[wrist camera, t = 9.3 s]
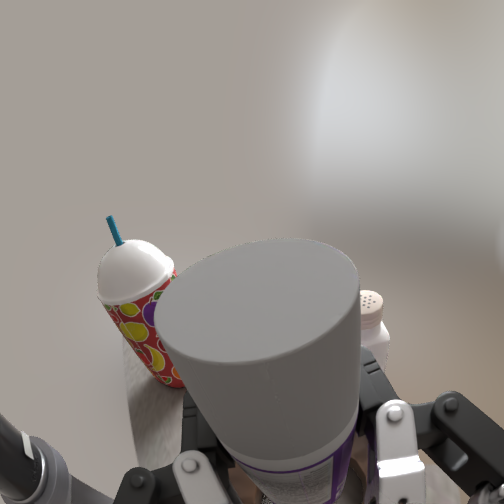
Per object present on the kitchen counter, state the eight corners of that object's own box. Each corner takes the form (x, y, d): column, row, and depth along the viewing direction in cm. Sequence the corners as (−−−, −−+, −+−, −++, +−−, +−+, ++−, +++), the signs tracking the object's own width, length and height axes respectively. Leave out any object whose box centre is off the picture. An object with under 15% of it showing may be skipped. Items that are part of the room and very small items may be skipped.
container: (306, 440, 15) (263, 225, 9) (360, 477, 12) (405, 260, 5) (252, 484, 13) (123, 297, 7) (304, 528, 9) (225, 426, 3)
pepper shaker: (385, 379, 24) (396, 308, 20) (348, 392, 24) (350, 323, 20) (372, 353, 27) (375, 282, 23) (337, 364, 28) (334, 294, 23)
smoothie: (163, 348, 36) (99, 211, 27) (220, 345, 35) (164, 192, 26) (143, 395, 29) (52, 245, 20) (208, 398, 27) (124, 224, 19)
